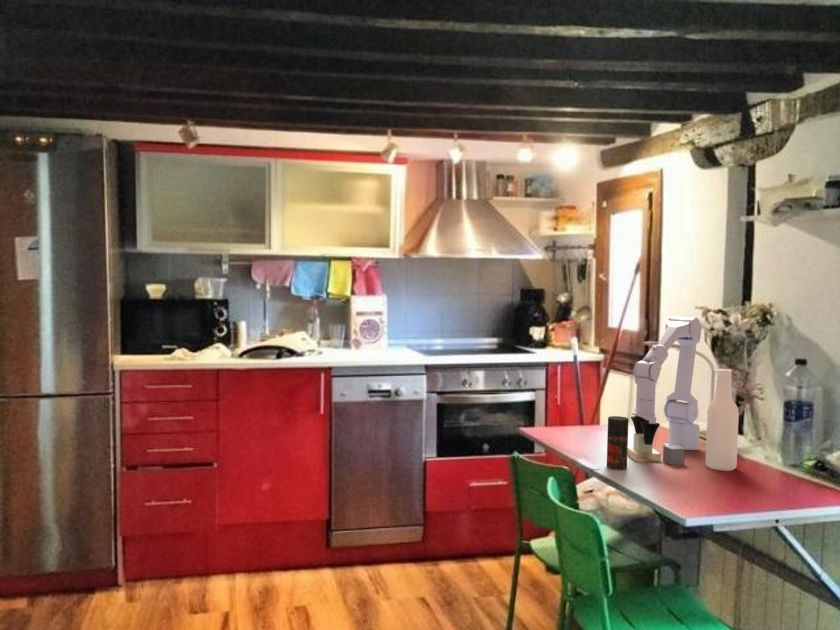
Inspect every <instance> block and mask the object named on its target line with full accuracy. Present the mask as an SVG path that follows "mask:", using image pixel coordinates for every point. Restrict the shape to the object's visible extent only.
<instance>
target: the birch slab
mask: <svg viewBox="0 0 840 630" xmlns="http://www.w3.org/2000/svg"><path fill="white" fill-rule="evenodd" d="M627 457H629V458H630V459H632V460H633V461H634V462H662V461H661V460H662V458H661V457H662V454H661V452H659V451H658V450H657V449H654V448H653V447H652V452H637V451H636V450H634V447H628V450H627Z"/></svg>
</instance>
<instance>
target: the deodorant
mask: <svg viewBox="0 0 840 630" xmlns="http://www.w3.org/2000/svg"><path fill="white" fill-rule="evenodd" d="M606 444H607V445H606V468H607V467H608V468H607V469H609V470H610V469H611V470H615V471H623V470H626V469H628V455H627V450H628V448H629V447H628V446H629V445H628V444H629V417H625V416H618V415H611V416H608V417H607V440H606Z"/></svg>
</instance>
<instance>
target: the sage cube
mask: <svg viewBox="0 0 840 630" xmlns="http://www.w3.org/2000/svg"><path fill="white" fill-rule="evenodd" d="M633 448H634V450H636V451H637V452H652V448H653V443H652V445H645V443H644V435H643V434H636V432H635V433H633Z"/></svg>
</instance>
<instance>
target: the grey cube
mask: <svg viewBox="0 0 840 630" xmlns="http://www.w3.org/2000/svg"><path fill="white" fill-rule="evenodd" d="M662 449H663V450H662V462H663V463H665V464H668V465H670V466H677V465H685V455H686V454H685V453H686V450H685V448H682V447H680V446H677V445H669V446H665V445H663V446H662Z"/></svg>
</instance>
